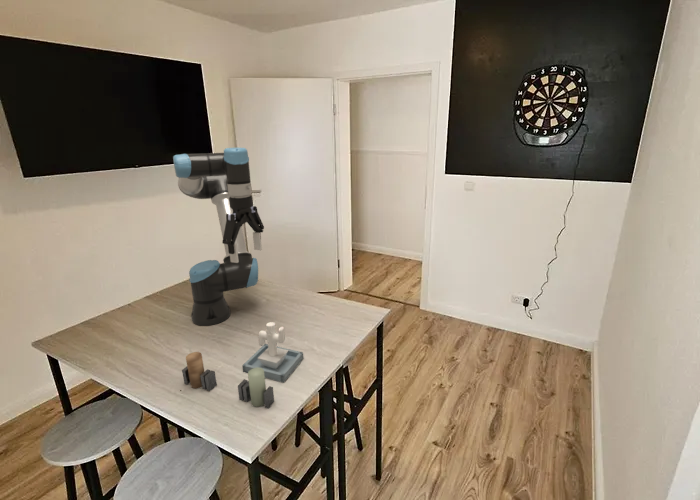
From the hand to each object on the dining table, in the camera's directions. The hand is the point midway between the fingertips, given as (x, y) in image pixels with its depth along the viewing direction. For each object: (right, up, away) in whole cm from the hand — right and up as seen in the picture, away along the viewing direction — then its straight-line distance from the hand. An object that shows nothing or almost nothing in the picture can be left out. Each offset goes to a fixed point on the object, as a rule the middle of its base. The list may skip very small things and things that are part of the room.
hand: (246, 255), depth 128 cm
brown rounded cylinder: (-10, -39, -16) cm, 44 cm away
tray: (+11, -36, -8) cm, 39 cm away
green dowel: (+10, -42, -24) cm, 49 cm away
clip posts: (0, -40, -20) cm, 45 cm away
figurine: (+11, -36, -8) cm, 38 cm away
